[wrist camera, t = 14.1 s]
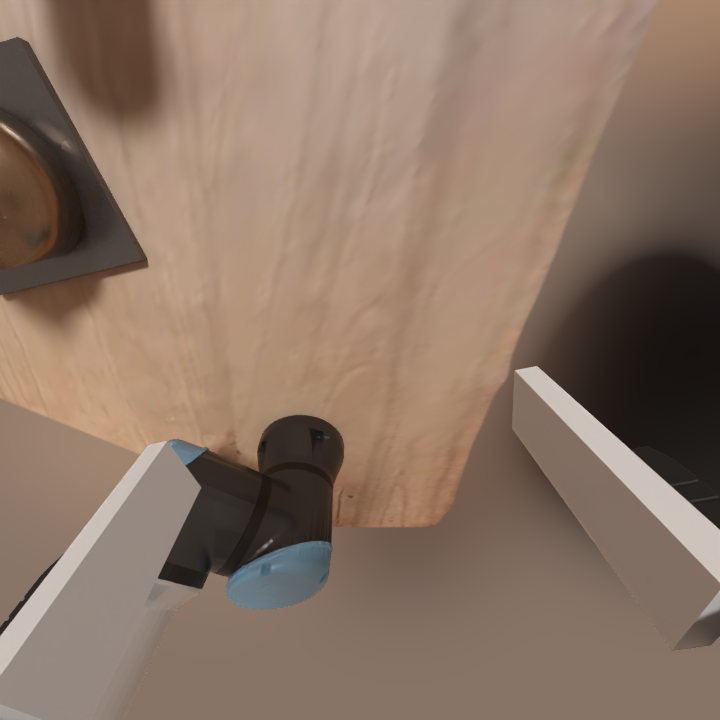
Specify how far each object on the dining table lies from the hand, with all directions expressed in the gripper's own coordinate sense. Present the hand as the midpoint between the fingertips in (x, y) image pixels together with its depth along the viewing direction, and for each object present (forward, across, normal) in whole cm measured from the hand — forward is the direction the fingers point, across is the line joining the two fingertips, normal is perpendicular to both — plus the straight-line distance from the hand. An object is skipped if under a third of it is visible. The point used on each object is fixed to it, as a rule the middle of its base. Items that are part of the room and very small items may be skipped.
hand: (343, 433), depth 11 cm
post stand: (+32, +34, -16) cm, 49 cm away
